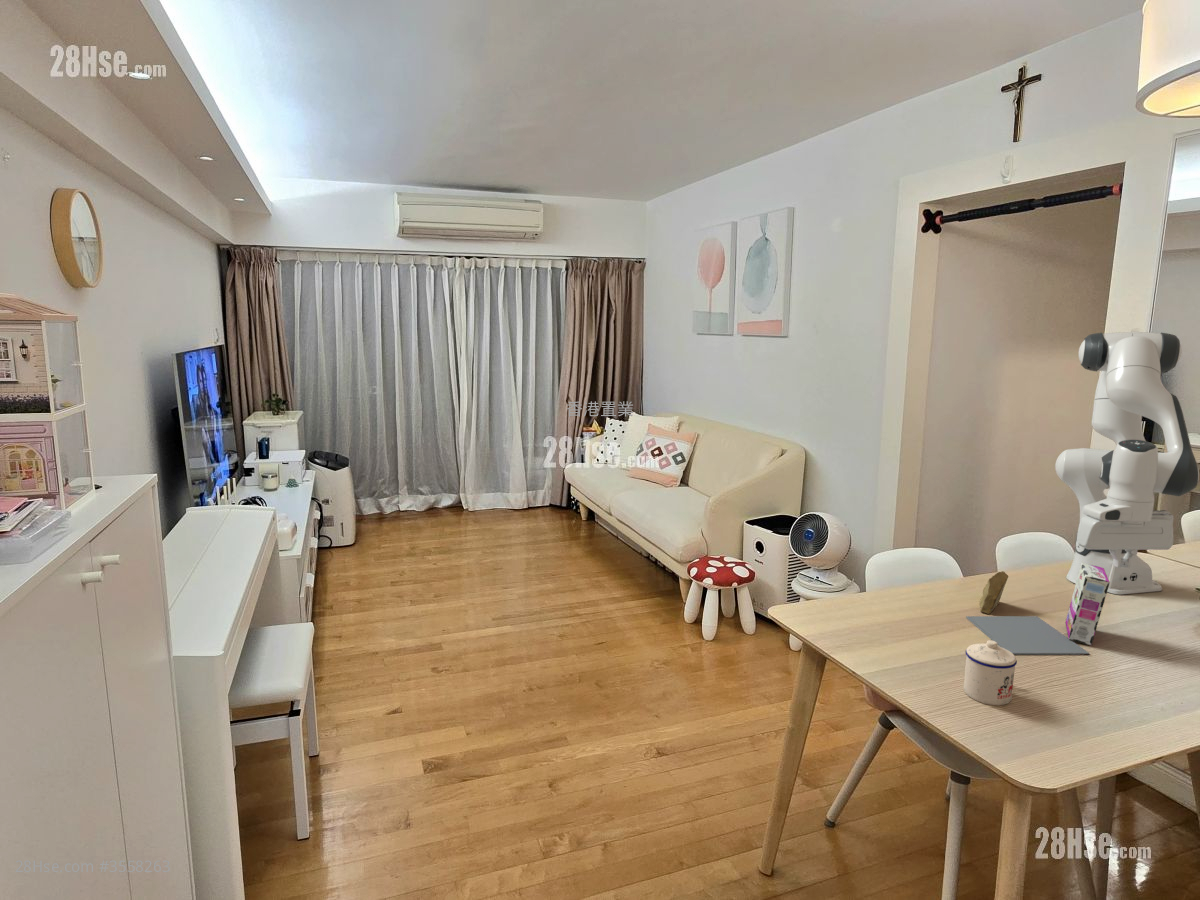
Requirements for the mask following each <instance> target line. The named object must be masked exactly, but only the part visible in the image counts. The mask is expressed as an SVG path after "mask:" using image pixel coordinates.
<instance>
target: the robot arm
mask: <svg viewBox="0 0 1200 900" xmlns="http://www.w3.org/2000/svg"><path fill="white" fill-rule="evenodd" d="M1180 341H1181V340H1180V339H1179V338H1178V336H1177V335H1174V334H1173V333H1167V332H1161V333H1158V332H1149V331H1123V332H1121V331H1119V332H1108V333H1107V332H1106V333H1103V332H1097V333H1092V334H1088V335H1087V336H1086V337H1084V339H1083V341H1082V342H1081V344H1080V346H1079V348H1078V360H1079V362H1080V366H1081V367H1082V368H1083V369H1084V370H1086V371H1091V372H1097V373H1098V372H1100V375H1099V378H1098V380H1097V384H1096V388H1095V392H1094V397H1093V398H1094V399H1093V406H1092V407H1093V408H1092V416H1091V426H1092V429H1093V430H1094V431H1095V432H1096V433H1097V434H1099V435H1101V436H1103V437H1105V438H1107V439H1109V440H1112V442H1114V443H1115V445H1116V446H1115V448H1114V449H1105V448H1104V449H1100V448H1088V447H1087V448H1086V447H1079V448H1068V449H1067V448H1066V449H1065V450H1063V451H1061V453H1060V454H1059V455H1058V457H1057V458H1056V460H1055V464H1054V469H1055V473H1056V475H1057V477H1058V478H1059V479H1060V481H1061V482H1063V483H1064V484H1065V485H1066V486H1068V488H1070V489H1071V491H1072V492H1073V493H1074V495H1075V497H1076V499H1077V501H1078V505H1079V524H1078V528H1077V531H1076V535H1075V541H1074V542H1075V543H1074V546H1075V548H1074V549H1075V551H1074V556H1073V560H1072V562H1071V565H1070V568H1069V570H1068V572H1067V575H1066V579H1067V580H1068V581H1070V582H1071V583H1074V584H1075V585H1076V581H1077V578H1078V574H1079V571H1080V567H1081V563H1084V564H1089V565H1093V566H1098V567H1102V568H1104V570H1105V572H1106V575H1107V577H1108V579H1109V582H1110V583H1109V587H1108V590H1107V593H1109V594H1110V593H1111V594H1113V595H1127V594H1128V595H1129V594H1139V593H1140V594H1141V593H1152V592H1160V591H1161V592H1162V589H1163V588H1162V585H1161V584H1159V583H1158V582H1157V581H1156V580H1154V579H1153V572H1152V570H1153V569H1152V567H1151V566H1150V565H1149V563H1147V562H1146V561H1145V560H1144V559H1142V558H1140V557H1139V556H1138V551H1139V550H1140V551H1141V550H1142V551H1143V550H1147V551H1148V550H1150V551H1152V550H1153V551H1155V550H1157V551H1158V550H1159V551H1162V550H1164V551H1167V550H1170V549H1171V548H1172V547H1173V546H1174V545H1173V544H1174V525H1173V524H1174V515H1173V514H1172V513H1171V512H1170V511H1169V510H1166V509H1161V510H1158V509H1157V510H1156V509H1154V506H1155V495H1154V493H1159V494H1162V495H1167V496H1175V497H1181V496H1183V495H1186V494H1188V493H1189V492H1191V491H1193V490H1195V489H1196V488H1197V486H1198V484H1199V483H1198V482H1199V480H1200V470H1199V466H1198V463H1197V460H1196V457H1195V455H1194V452H1193V449H1192V446H1191V441H1190V437H1189V434H1188V429H1187V424H1186V419H1185V416H1184V412H1183V410H1182V406H1181V403H1180V401H1179V398H1178V397H1177V395H1175V394H1173V393H1171V392H1169V391H1168V390H1167V389H1166V387H1165V386H1164V384H1163V382H1162V380H1161V379H1162V376H1161V375H1163V374H1165V373H1169V372H1170V371H1171V370H1173V369H1175V368H1176V365H1177V364H1178V363H1179V361H1180V358H1181V356H1182V345H1181V342H1180ZM1143 417H1144V418H1146V419H1149V420H1151V421H1153V422H1154V423H1156V424H1157V425H1159V426H1160V427H1161V429H1162V431H1163V432H1162V433H1163V436H1164V441H1165V445H1166V451H1167V452H1161V451H1160V452H1159V451H1158V450H1159V449H1158V446H1157V445H1156V444H1154V443H1152V442H1149V441H1147V440H1146V439H1145V436H1144V433H1143V427H1142V421H1143V420H1142V419H1143ZM1105 490H1108V491H1107V494H1105V492H1104V491H1105Z"/></svg>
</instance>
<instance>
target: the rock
mask: <svg viewBox="0 0 1200 900" xmlns="http://www.w3.org/2000/svg"><path fill="white" fill-rule="evenodd" d="M1008 578H1009V575H1008V574H1007V573H1006V572H1005V571H998V572H997V573H995V574H994V575H992V576H991V577H990V578H989V579H988V581H987V583H986V584H985V586H984V587H983V590H982V596H981V597H980V600H979V603H978V605H979V606H980V610H979V611H980V612H981V613H984V614H988V615H990V614H991V613H992V611H993V610H994V609H995V608H996V607H997V606H998V605H999V603H1000V601H1001V598H1002V594H1003V592H1004V589H1005V586H1006V584H1007V581H1008Z"/></svg>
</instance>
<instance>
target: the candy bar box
mask: <svg viewBox="0 0 1200 900" xmlns="http://www.w3.org/2000/svg"><path fill="white" fill-rule="evenodd" d="M1109 583H1110V582H1109V579H1108V577H1107V575H1106V572H1105V570H1104V568H1102V567H1098V566H1093V565H1089V564H1084V563H1081V567H1080V571H1079V574H1078V578H1077V581H1076V584H1075V586H1074V590H1073V593H1072V597H1071V599H1070V600H1071V601H1070V604H1069V607H1068V612H1067V616H1066V618H1065V622H1064V623H1065V628H1066V632H1067V638H1068V639H1069V640H1072V641H1073V642H1075V643H1080V644H1082V645H1083V644H1084V645H1087V646H1093V642H1094V639H1095V635H1096V632H1097V628H1098V625H1099V621H1100V617H1101V615H1102V611H1103V607H1104V604H1105V600H1106V596H1107V595H1108V594H1107V593H1108V592H1107V590H1108V587H1109Z"/></svg>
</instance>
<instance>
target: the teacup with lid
mask: <svg viewBox="0 0 1200 900" xmlns="http://www.w3.org/2000/svg"><path fill="white" fill-rule="evenodd" d="M965 655H966V657H965V658H966V659H965V668H964V679H963V680H964V682H963V691H964V693H965V694H966V695H967V696H968V697H969V698H971V699H972V700H975V701H977V702H980V703H982V704H986V705H992V706H1004V705H1008V704H1009V703H1010V702H1011V701H1012V698H1013V690H1014V688H1013V687H1014V678H1015V669H1016V665H1017V662H1018V660H1017V657H1016V655H1014V654H1012V653H1011V652H1010V651H1008V650H1006V649H1004V648H1002V647H1000V646H998V644H997V642H995V641H993V640H991V639H990V640H989V639H988V640H987V641H986V643H985V642H984V643H974V644H970V645H968V647H967V648H966V649H965Z"/></svg>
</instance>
